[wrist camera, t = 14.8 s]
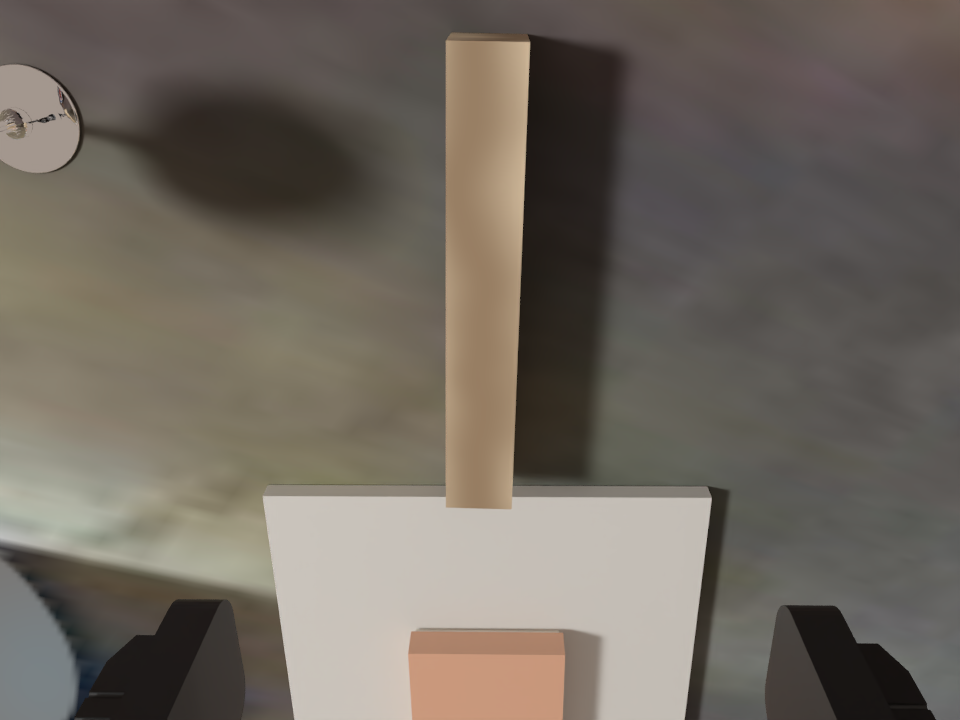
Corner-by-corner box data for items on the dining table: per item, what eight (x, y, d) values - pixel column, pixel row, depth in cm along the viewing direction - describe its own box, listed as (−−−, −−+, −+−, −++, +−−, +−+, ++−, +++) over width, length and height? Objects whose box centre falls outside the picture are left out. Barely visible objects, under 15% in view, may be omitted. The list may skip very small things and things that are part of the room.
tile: (565, 655, 43) (559, 791, 47) (562, 627, 45) (557, 760, 49) (408, 653, 43) (416, 789, 48) (411, 626, 45) (419, 759, 50)
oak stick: (527, 33, 34) (530, 41, 30) (510, 462, 42) (511, 509, 39) (451, 32, 34) (446, 40, 30) (450, 461, 42) (445, 507, 39)
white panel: (707, 486, 42) (712, 498, 41) (673, 769, 51) (676, 784, 50) (267, 484, 43) (262, 496, 42) (306, 764, 51) (303, 779, 50)
